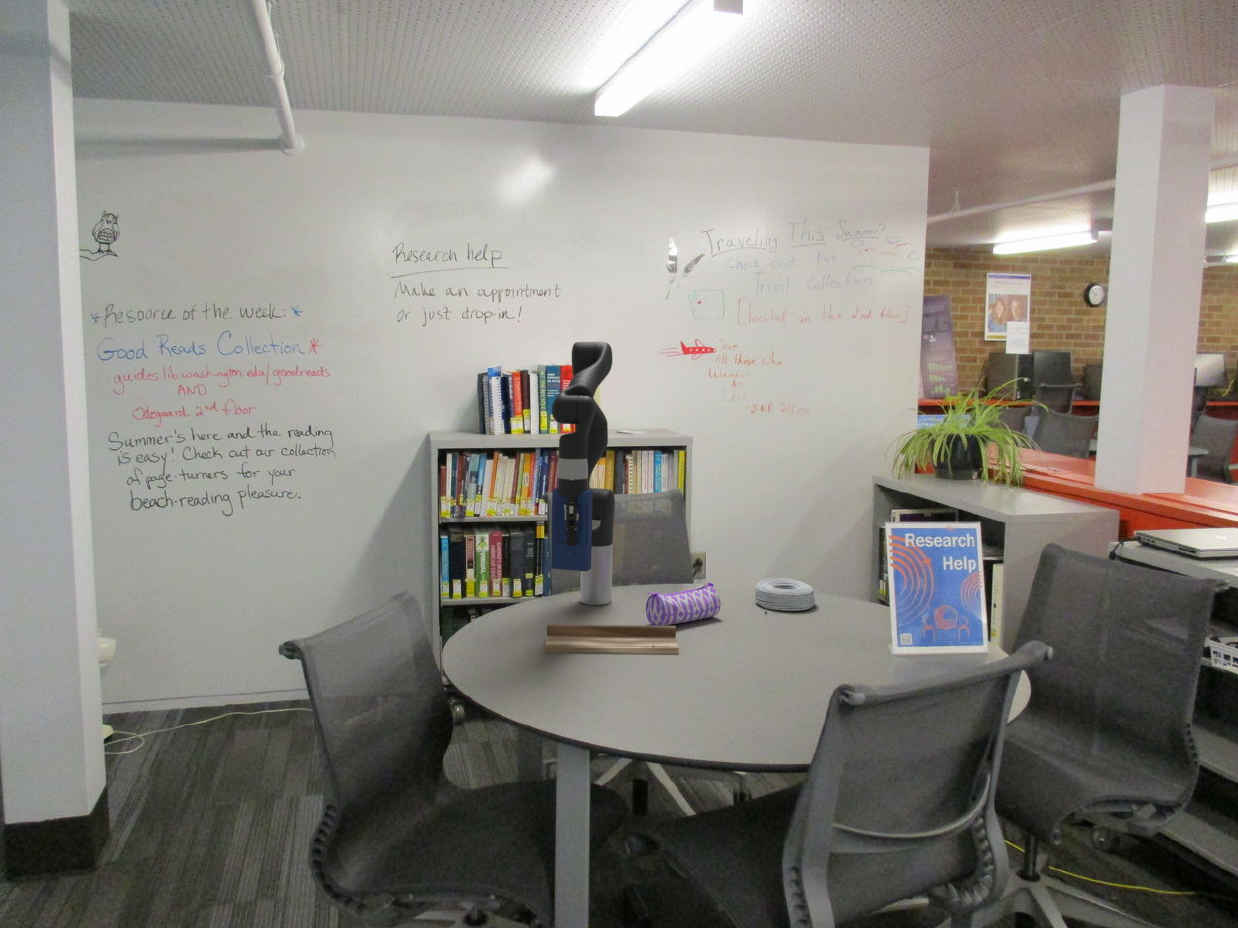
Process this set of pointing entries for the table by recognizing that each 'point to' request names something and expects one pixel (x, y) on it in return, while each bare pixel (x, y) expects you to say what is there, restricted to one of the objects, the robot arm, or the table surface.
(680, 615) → the pencil case
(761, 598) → the cable
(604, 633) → the guide board
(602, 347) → the robot arm
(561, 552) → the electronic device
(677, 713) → the table surface
